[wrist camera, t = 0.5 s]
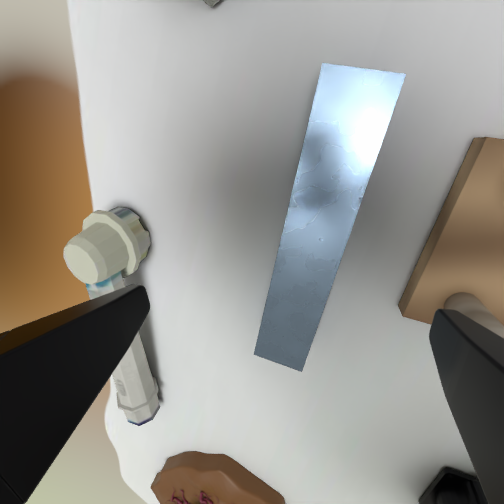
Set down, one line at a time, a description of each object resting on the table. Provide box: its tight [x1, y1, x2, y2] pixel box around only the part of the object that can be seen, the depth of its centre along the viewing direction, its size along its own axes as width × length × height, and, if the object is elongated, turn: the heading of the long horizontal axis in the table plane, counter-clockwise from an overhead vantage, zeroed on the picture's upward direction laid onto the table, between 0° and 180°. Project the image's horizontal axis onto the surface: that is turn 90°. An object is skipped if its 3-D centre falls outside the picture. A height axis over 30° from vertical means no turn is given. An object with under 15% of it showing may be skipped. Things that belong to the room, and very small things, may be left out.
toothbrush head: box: [64, 207, 160, 426], centre depth 27 cm, size 5×7×25 cm
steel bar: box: [254, 63, 406, 372], centre depth 19 cm, size 20×4×4 cm, turn 170°
